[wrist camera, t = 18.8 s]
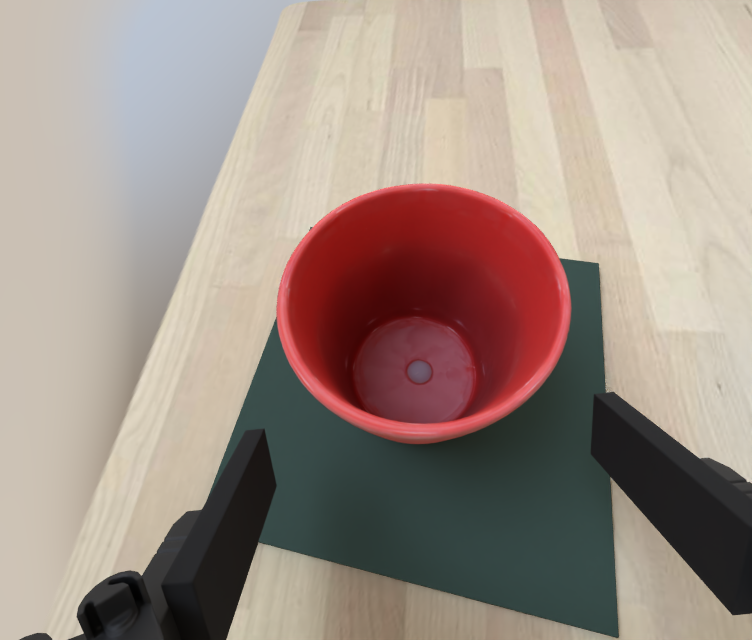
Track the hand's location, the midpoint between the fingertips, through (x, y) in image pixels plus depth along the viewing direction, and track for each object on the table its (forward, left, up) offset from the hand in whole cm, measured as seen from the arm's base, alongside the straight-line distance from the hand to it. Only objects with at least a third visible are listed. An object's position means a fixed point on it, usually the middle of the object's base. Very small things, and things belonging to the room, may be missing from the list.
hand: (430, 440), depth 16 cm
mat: (-1, +5, -6) cm, 8 cm away
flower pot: (-1, +5, -6) cm, 8 cm away
